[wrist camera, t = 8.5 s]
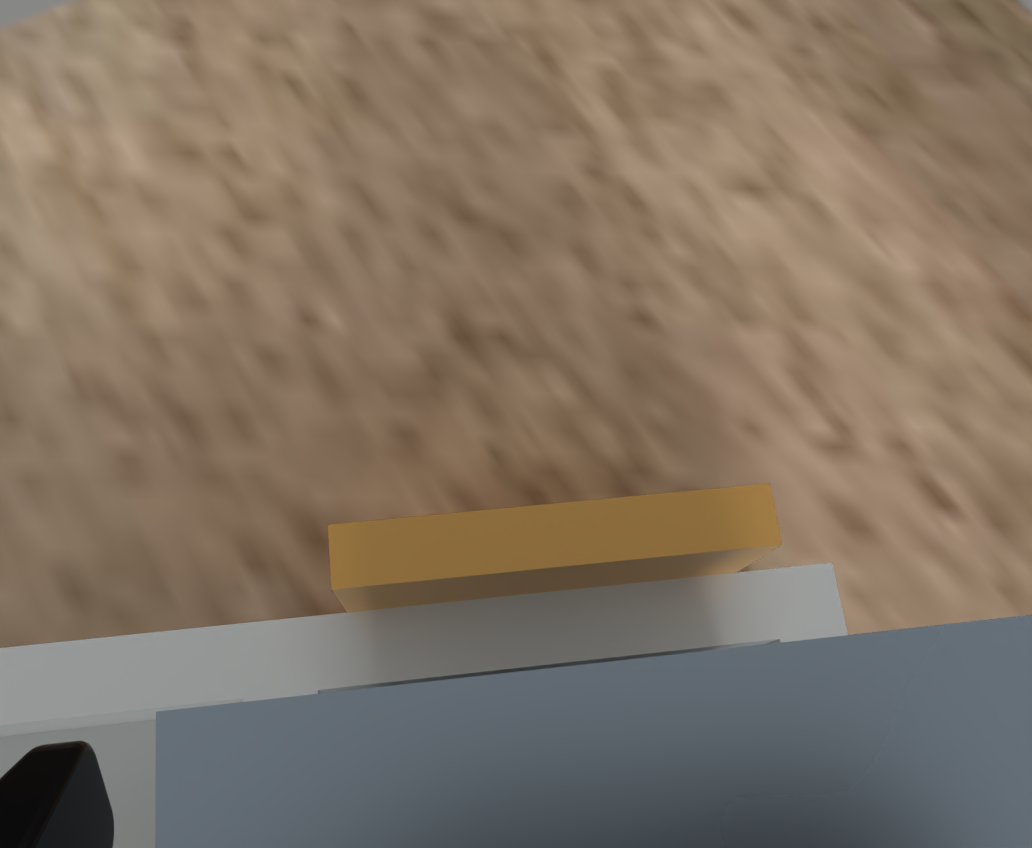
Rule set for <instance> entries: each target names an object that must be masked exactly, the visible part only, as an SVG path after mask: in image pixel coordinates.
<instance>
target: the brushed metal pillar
mask: <svg viewBox="0 0 1032 848" xmlns="http://www.w3.org/2000/svg"><path fill="white" fill-rule="evenodd" d="M155 848H1032V615H1026V616H1017V617H1008V618H999V619H990V620H980V621H971V622H962V623H953V624H944V625H935V626H926V627H917V628H908V629H899V630H890V631H881V632H872V633H863V634H854V635H845V636H836V637H827V638H818V639H809V640H800V641H791V642H781V643H772V644H763V645H754V646H745V647H736V648H727V649H718V650H709V651H700V652H691V653H682V654H673V655H664V656H655V657H646V658H637V659H628V660H619V661H610V662H601V663H592V664H582V665H573V666H564V667H555V668H546V669H537V670H528V671H519V672H510V673H501V674H492V675H483V676H474V677H465V678H456V679H447V680H438V681H429V682H420V683H411V684H402V685H393V686H384V687H374V688H365V689H356V690H347V691H338V692H329V693H320V694H311V695H302V696H293V697H284V698H275V699H266V700H257V701H248V702H239V703H230V704H221V705H212V706H203V707H194V708H185V709H175V710H166V711H157V712H156V784H155Z"/></svg>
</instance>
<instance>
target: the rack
mask: <svg viewBox="0 0 1032 848" xmlns="http://www.w3.org/2000/svg"><path fill="white" fill-rule="evenodd" d="M328 536H329V555H330V575H331V590H332V591H333V593H334V594H335V596H336V597H337V599H338V600H339V602H340V603H341V604H342V606H343V607H344V609H345V610H346V613H337V614H327V615H317V616H307V617H298V618H288V619H278V620H268V621H259V622H249V623H239V624H229V625H220V626H210V627H200V628H190V629H181V630H171V631H161V632H152V633H142V634H132V635H122V636H113V637H103V638H93V639H83V640H74V641H64V642H54V643H44V644H35V645H25V646H15V647H5V648H0V778H1V777H2V776H3V775H4V774H5V773H6V772H7V771H8V770H9V769H10V768H11V767H12V766H13V765H15V764H16V763H17V762H18V761H19V760H20V759H21V758H22V757H23V756H24V755H25V754H26V753H28V752H29V751H30V750H31V749H33V748H35V747H37V746H40V745H44V744H53V743H62V742H71V741H84V742H87V743H89V744H90V745H91V747H92V748H93V750H94V752H95V754H96V757H97V761H98V764H99V767H100V771H101V774H102V777H103V781H104V784H105V787H106V791H107V794H108V797H109V801H110V804H111V807H112V811H113V817H114V841H113V848H155V784H156V712H157V711H166V710H175V709H185V708H194V707H203V706H212V705H221V704H230V703H239V702H248V701H257V700H266V699H275V698H284V697H293V696H302V695H311V694H320V693H329V692H338V691H347V690H356V689H365V688H374V687H384V686H393V685H402V684H411V683H420V682H429V681H438V680H447V679H456V678H465V677H474V676H483V675H492V674H501V673H510V672H519V671H528V670H537V669H546V668H555V667H564V666H573V665H582V664H592V663H601V662H610V661H619V660H628V659H637V658H646V657H655V656H664V655H673V654H682V653H691V652H700V651H709V650H718V649H727V648H736V647H745V646H754V645H763V644H772V643H781V642H791V641H800V640H809V639H818V638H827V637H836V636H845V635H848V634H847V629H846V624H845V620H844V615H843V611H842V606H841V601H840V597H839V592H838V587H837V583H836V578H835V573H834V569H833V564H832V563H824V564H814V565H804V566H795V567H785V568H775V569H765V570H756V571H746V572H738V571H740V570H741V569H743V568H745V567H746V566H748V565H750V564H751V563H753V562H754V561H756V560H758V559H759V558H761V557H763V556H764V555H766V554H768V553H769V552H771V551H772V550H774V549H776V548H777V547H779V546H781V545H782V542H781V537H780V532H779V527H778V522H777V517H776V512H775V507H774V502H773V497H772V492H771V487H770V483H768V484H757V485H746V486H735V487H725V488H714V489H703V490H692V491H682V492H671V493H660V494H650V495H639V496H628V497H617V498H607V499H596V500H585V501H574V502H564V503H553V504H542V505H532V506H521V507H510V508H499V509H489V510H478V511H467V512H456V513H446V514H435V515H424V516H414V517H403V518H392V519H381V520H371V521H360V522H349V523H338V524H328Z"/></svg>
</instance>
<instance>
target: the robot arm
mask: <svg viewBox="0 0 1032 848" xmlns="http://www.w3.org/2000/svg"><path fill="white" fill-rule="evenodd" d="M113 841H114V817H113V811H112V807H111V804H110V801H109V797H108V794H107V791H106V787H105V784H104V781H103V777H102V774H101V771H100V767H99V764H98V761H97V757H96V754H95V752H94V750H93V748H92V747H91V745H90V744H89V743H87V742H84V741H71V742H62V743H53V744H44V745H40V746H37V747H35V748H33V749H31V750H30V751H29V752H28V753H26V754H25V755H24V756H23V757H22V758H21V759H20V760H19V761H18V762H17V763H16V764H15V765H13V766H12V767H11V768H10V769H9V770H8V771H7V772H6V773H5V774H4V775H3V776H2V777H1V778H0V848H113Z"/></svg>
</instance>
